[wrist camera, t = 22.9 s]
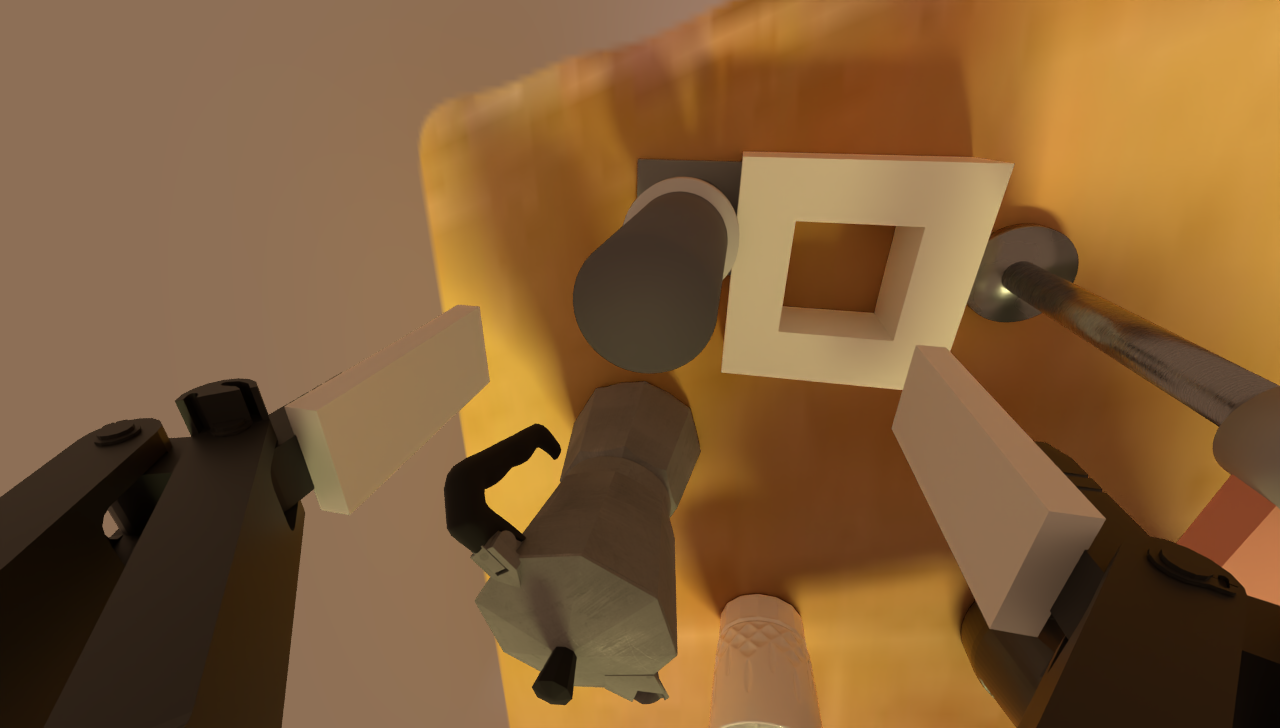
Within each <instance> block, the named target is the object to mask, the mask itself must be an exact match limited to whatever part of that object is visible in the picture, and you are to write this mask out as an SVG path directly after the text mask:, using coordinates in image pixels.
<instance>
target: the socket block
mask: <svg viewBox="0 0 1280 728" xmlns="http://www.w3.org/2000/svg"><path fill="white" fill-rule="evenodd" d="M1013 167H1014V163H1008V162H1002V161H995V160H989V159H983V158H977V157H956V156H915V155H874V154H833V153H792V152H751V151H743V157H742V167H741V177H740V187H739V197H738V207H737V220H738V224H739V247H738V253H737V256H736V260H735V262H734V264H733V266H732V268H731V275H730V285H729V295H728V304H727V314H726V324H725V334H724V344H723V356H722V369H721V372H722V373H733V374H743V375H753V376H763V377H774V378H784V379H794V380H804V381H815V382H825V383H835V384H845V385H855V386H866V387H876V388H886V389H896V390H903V387H904V384H905V380H906V377H907V373H908V370H909V366H910V363H911V360H912V356H913V353H914V349H915V346H916V345H925V346H936V347H946V348H947V349H948V350H949V351H950V350H951V348H952V345H953V342H954V339H955V336H956V333H957V330H958V327H959V324H960V321H961V318H962V316H963V313H964V310H965V307H966V304H967V301H968V298H969V295H970V292H971V289H972V286H973V284H974V281H975V278H976V275H977V272H978V269H979V266H980V263H981V260H982V257H983V254H984V252H985V249H986V246H987V243H988V240H989V237H990V234H991V231H992V228H993V225H994V222H995V220H996V217H997V214H998V211H999V208H1000V205H1001V202H1002V199H1003V196H1004V193H1005V190H1006V188H1007V185H1008V182H1009V179H1010V176H1011V173H1012V170H1013ZM796 221H803V222H825V223H846V224H867V225H889V226H896V228H895V232H894V236H893V240H892V244H891V248H890V252H889V256H888V260H887V264H886V268H885V272H884V276H883V279H882V283H881V287H880V291H879V295H878V299H877V303H876V307H875V311H874V313H869V312H855V311H842V310H828V309H815V308H801V307H788V306H782V305H783V299H784V293H785V286H786V280H787V274H788V267H789V261H790V255H791V248H792V242H793V236H794V229H795V223H796Z"/></svg>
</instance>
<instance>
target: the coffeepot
mask: <svg viewBox="0 0 1280 728" xmlns="http://www.w3.org/2000/svg"><path fill="white" fill-rule="evenodd" d="M538 447H539V448H541V449H543V450H544V451H545V452H547V453H548V454H549V455H550V456H551V457H552V458H553V459H554V460H555V459H557V458H558V456H559V455H560V453H561V448H560V445H559V443H558V442H557V441H556V439H555V438H554V436H553V435H552V434H551V433H550V431H549V430H548V429H547V428H546V427H544V426H543V425H540V424H534V425H532V426H530V427H528V428H526V429H524V430H522V431H520V432H518V433H516V434H515V435H513V436H510V437H508V438H507V439H505V440H502V441H500V442H499V443H497V444H495V445H493V446H491V447H489V448H487V449H485V450H483V451H481V452H479V453H477V454H475V455H472V456H470V457H468V458H466V459H464V460H463V461H461V462H459V463H458V464H456V465H455V466H453V468H452V469H451V471H450V472H449V473H448V475H447V478H446V482H445V487H444V497H445V508H446V522H447V529H448V531H449V532H450V534H451V536H453V537H454V538H455V539H456V540H457V541H459V542H460V543H461V544H463V545H464V546H465V547H467V548H468V549H469V550H471V552H472V553H473V554H472V556H471V559H472V560H473V561H474V562H475V563H476V564H478V565H479V566H480V567H481V568H482V569H483V570H484V571H485V572H486V573H487V574H488V575H489V576H490V578H489V580H488V581H487V583H486V584H485V586H484V587H483V589H482V590H481V592H480V593H479V595H478V596H477V598H476V600H475V603H476V604H477V606H478V608H479V609H480V611H481V613H482V615H483V617H484V618H485V620H486V622H487V623H488V625H489V627H490V629H491V631H492V632H493V634H494V636H495V638H496V639H497V641H498V643H499V644H500V646H501V648H502V650H503V651H504V652H505V653H507V654H509V655H511V656H513V657H514V658H516V659H518V660H520V661H522V662H524V663H526V664H528V665H529V666H531V667H533V668H535V669H537V670H539V671H541V672H540V674H539V676H538V677H537V679H536V681H535V683H534V684H533V686H532V688H533V690H534V692H535V694H536V695H537V697H538V698H540V699H542V700H544V701H546V702H548V703H550V704H557V705H566V704H567V703H568V702H569V701H570V700H571V699H572V695H573V687H574V686H582V687H605V689H607V690H609V691H611V692H613V693H615V694H617V695H619V696H621V697H623V698H625V699H627V700H629V701H631V702H633V699H635V700H636V701H638V702H640V703H641V704H651V703H654V702H656V701H658V700H659V699H660V698H664V700H666V699H668V698H669V696H668V694H667V692H666V690H665V689H664V687H663V685H662V683H661V681H660V679H659V675H658V671H659V670H660V669H661V668H663V667H664V666H665V665H666V664H667V663H669V662H670V661H671V660H672V659H673V658H675V657H676V656H677V617H676V576H675V538H674V534H673V530H672V526H671V522H670V517H671V516H672V514H673V513H674V511H675V510H676V509H677V507H678V504H679V502H680V500H681V497H682V495H683V492H684V490H685V488H686V485H687V483H688V481H689V478H690V476H691V473H692V471H693V469H694V466H695V464H696V461H697V459H698V457H699V454H700V452H701V450H700V446H699V442H698V437H697V431H696V427H695V424H694V421H693V418H692V414H691V410H690V408H689V407H687V406H686V405H685V404H683V403H682V402H681V401H679V400H678V399H676V398H675V397H674V396H672V395H671V394H670V393H668V392H666V391H664V390H662V389H660V388H658V387H655V386H652V385H651V384H649V383H647V382H646V381H642V382H626V383H618V384H614V385H610V386H608V387H602V388H596V389H595V391H594V393H593V394H592V396H591V397H590V399H589V400H588V402H587V404H586V405H585V407H584V408H583V410H582V411H581V413H580V415H579V416H578V418H577V419H576V421H575V423H574V426H573V430H572V434H571V438H570V442H569V446H568V450H567V454H566V458H565V462H564V466H563V470H562V474H561V478H560V482H561V483H560V484H559V486H558V487H557V488H556V490H555V491H554V492H553V494H552V495H551V496H550V498H549V499H548V500H547V502H546V503H545V504H544V506H543V507H542V508H541V510H540V511H539V512H538V514H537V515H536V516H535V518H534V519H533V520H532V522H531V523H530V524H529V526H528V527H527V528H526V530H525V531H524V532H523V534H522V533H520V532H519V531H518V530H517V529H516V528H515V527H513V526H512V525H511V524H510V523H509V522H507V521H506V520H504V519H503V518H502V517H500V516H499V515H498V514H496V513H495V512H494V511H493V510H492V509H490V508H489V507H488V505H487V504H486V501H485V495H484V492H485V489H487V488H489V487H491V486H493V485H495V484H496V483H497V482H499V481H500V480H501V479H502V478H503V477H504V476H505V475H506V474H507V472H508V471H509V470H510V469H511V468H512V467H514V466H518V465H520V464H522V463H524V462H526V461H528V459H529V458H530V457H531V456H532V454H533V453H534V451H535V449H536V448H538Z"/></svg>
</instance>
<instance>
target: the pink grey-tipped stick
mask: <svg viewBox="0 0 1280 728" xmlns="http://www.w3.org/2000/svg"><path fill="white" fill-rule="evenodd" d="M1213 454H1214V457H1215V459H1216V461H1217V462H1218V464H1219V465H1220V466H1221V467H1222V468H1223V469H1224V470H1226V471H1227V472H1228V473H1230V474H1231V476H1230V477H1229V478H1228V480H1227V481H1226V482H1225V483H1224V485H1223V486H1222V487H1221V488H1220V490H1219V491H1218V492H1217V493H1216V494H1215V496H1214V497H1213V498H1212V499H1211V501H1210V502H1209V503H1208V504H1207V506H1206V507H1205V508H1204V509H1203V511H1202V512H1201V513H1200V514H1199V516H1198V517H1197V518H1196V519H1195V520H1194V522H1193V523H1192V524H1191V525H1190V527H1189V528H1188V529H1187V530H1186V532H1185V533H1184V534H1183V535H1182V537H1181V538H1180V539H1179V540H1178V542H1177V543H1176V544H1179V545H1181V546H1184V547H1187V548H1189V549H1191V550H1193V551H1195V552H1197V553H1199V554H1201V555H1203V556H1205V557H1207V558H1209V559H1211V560H1212V561H1214V562H1215V563H1216V564H1218V565H1219V566H1221V567H1222V568H1224V569H1225V570H1226V571H1228V572H1229V573H1231V574H1232V575H1233V576H1234V577H1235V578H1236V579H1237V581H1238V582H1239V583H1240V584H1241V585H1242V586H1243V587H1244V588H1245V591H1246V594H1247V595H1248V596H1251V597H1255V598H1258V599H1261V600H1264V601H1267V602H1270V603H1273V604H1276V605H1279V606H1280V386H1277V387H1275V388H1272V389H1269V390H1267V391H1265V392H1263V393H1260V394H1258V395H1257V396H1255V397H1253V398H1251V399H1249V400H1248V401H1246V402H1245V403H1243V404H1242V405H1240V406H1239V407H1238V408H1237V409H1235V410H1234V411H1233V412H1232V413H1231V414H1230V415H1229V416H1228V417H1227V418H1226V419H1225V420H1224V421H1223V422H1222V424H1221V425H1220V427H1219V428H1218V430H1217V432H1216V434H1215V437H1214V441H1213Z"/></svg>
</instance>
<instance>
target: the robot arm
mask: <svg viewBox="0 0 1280 728" xmlns="http://www.w3.org/2000/svg"><path fill="white" fill-rule="evenodd" d="M489 382H490V380H489V373H488V365H487V358H486V351H485V343H484V336H483V329H482V321H481V314H480V307H478V306H466V305H457V306H455V307H453V308H452V309H450V310H448V311H446V312H445V313H443V314H441V315H440V316H438V317H436V318H435V319H433V320H431V321H429V322H428V323H426V324H424V325H423V326H421V327H419V328H417V329H416V330H414V331H412V332H411V333H409V334H407V335H406V336H404V337H402V338H400V339H399V340H397V341H395V342H394V343H392V344H390V345H389V346H387V347H385V348H383V349H382V350H380V351H378V352H376V353H375V354H373V355H371V356H370V357H368V358H366V359H364V360H363V361H361V362H359V363H358V364H356V365H354V366H353V367H351V368H349V369H347V370H346V371H344V372H342V373H340V374H338V375H336V376H335V377H333V378H331V379H329V380H328V381H326V382H325V383H324V384H321V385H319V386H317V387H316V388H314V389H312V391H310V392H307V393H306V394H304V395H302V396H300V397H299V398H297V399H295V400H293V401H292V402H290V403H289V404H287V405H285V406H283V407H281V408H280V409H278V410H276V411H275V412H273V413H271V414H269V415H268V412H267V410H266V407H265V404H264V402H263V399H262V397H261V394H260V391H259V388H258V386H257V383H256V382H255V381H253V380H250V379H229V380H222V381H218V382H213V383H209V384H206V385H203V386H200V387H197V388H195V389H192V390H190V391H188V392H186V393H184V394H182V395H181V396H180V397H179V398H178V399H177V400H175V402H176V404H177V407H178V409H179V411H180V413H181V415H182V417H183V419H184V421H185V424H186V425H187V428H188V430H189V432H190V434H191V437H184V438H168V436H167V434H166V432H165V430H164V428H163V426H162V424H161V422H160V421H159V420H156V419H153V418H143V419H134V420H123V421H118V422H116V423H111V424H108V425H105V426H103V427H102V428H101V429H98V430H96V431H93V432H91V433H89V434H88V435H86V436H84V437H82V438H81V439H79V440H77V441H76V442H75V443H73V444H72V445H71V446H69V447H68V448H67V449H65V450H64V451H62V453H60V454H58V455H57V456H56V457H54V458H53V459H52V460H50V461H49V462H48V463H46V464H45V465H43V466H42V467H41V468H40V469H38V470H37V471H35V472H34V473H33V474H31V475H30V476H29V477H27V478H26V479H24V480H23V481H22V482H20V483H19V484H18V485H16V486H15V487H14V488H12V489H11V490H10V491H8V492H7V493H5V494H4V495H3V496H1V497H0V728H281V727H282V717H283V708H284V700H285V689H286V681H287V672H288V663H289V654H290V645H291V636H292V626H293V618H294V609H295V599H296V591H297V581H298V571H299V563H300V554H301V545H302V536H303V526H304V518H305V511H304V508H303V505H302V503H301V499H302V498H303V497H305V496H306V495H307V494H308V493H310V492H311V491H312V490H313V489H314V491H315V494H316V497H317V500H318V503H319V506H320V508H321V510H325V511H330V512H336V513H341V514H348V515H351V514H352V513H353V512H354V511H355V510H356V509H357V508H358V507H359V506H360V505H361V504H362V503H363V502H364V501H365V500H367V499H368V498H369V497H370V496H371V495H372V494H373V493H374V492H375V491H376V490H377V489H378V488H379V487H380V486H381V485H382V484H383V483H384V482H385V481H386V480H387V479H389V477H391V476H392V475H393V474H394V473H395V472H396V471H397V470H398V469H399V468H400V467H401V466H402V465H403V464H404V463H405V462H406V461H407V460H408V459H409V458H410V457H411V456H413V455H414V454H415V453H416V452H417V451H418V450H419V449H420V448H421V447H422V446H423V445H424V444H425V443H426V442H427V441H428V440H429V439H430V438H431V437H432V436H434V435H435V434H436V433H437V432H438V431H439V430H440V429H441V428H442V427H443V426H444V425H445V424H446V423H447V422H448V421H449V420H450V419H451V418H452V417H453V416H454V415H455V414H457V413H458V412H459V411H460V410H461V409H462V408H463V407H464V406H465V405H466V404H467V403H468V402H469V401H470V400H471V399H472V398H473V397H474V396H475V395H476V394H477V393H479V392H480V391H481V390H482V389H483V388H484V387H485V386H486V385H487V384H488V383H489ZM891 429H892V431H893V433H894V435H895V437H896V439H897V441H898V443H899V445H900V447H901V449H902V451H903V453H904V455H905V457H906V459H907V461H908V463H909V465H910V467H911V469H912V471H913V473H914V475H915V478H916V480H917V482H918V484H919V486H920V488H921V490H922V492H923V494H924V496H925V498H926V500H927V502H928V504H929V506H930V508H931V510H932V512H933V514H934V516H935V518H936V520H937V522H938V524H939V527H940V529H941V531H942V533H943V535H944V537H945V539H946V541H947V543H948V545H949V547H950V549H951V551H952V553H953V555H954V557H955V559H956V561H957V563H958V565H959V567H960V569H961V571H962V573H963V576H964V578H965V580H966V582H967V584H968V586H969V588H970V590H971V592H972V594H973V596H974V598H975V600H976V601H975V602H974V603H973V604H972V606H971V607H970V609H969V610H968V612H967V613H966V615H965V618H964V620H963V624H962V629H961V637H962V643H963V646H964V649H965V651H966V653H967V656H968V658H969V660H970V663H971V665H972V667H973V670H974V672H975V674H976V676H977V678H978V679H979V681H980V683H981V684H982V685H983V687H984V688H985V689H986V690H987V691H988V692H989V693H990V694H991V696H992V697H993V698H994V699H995V700H996V701H997V703H998V704H999V705H1000V707H1001V708H1002V709H1003V711H1004V712H1005V713H1006V715H1007V716H1008V717H1009V719H1010V720H1011V721H1012V722H1013V724H1014V725H1015V726H1016V728H1280V606H1279V605H1276V604H1273V603H1270V602H1267V601H1264V600H1261V599H1258V598H1255V597H1251V596H1248V595H1247V594H1246V591H1245V588H1244V587H1243V586H1242V585H1241V584H1240V583H1239V582H1238V581H1237V579H1236V578H1235V577H1234V576H1233V575H1232V574H1231V573H1229V572H1228V571H1226V570H1225V569H1224V568H1222V567H1221V566H1219V565H1218V564H1216V563H1215V562H1214V561H1212V560H1211V559H1209V558H1207V557H1205V556H1203V555H1201V554H1199V553H1197V552H1195V551H1193V550H1191V549H1189V548H1187V547H1184V546H1181V545H1179V544H1176V543H1173V542H1170V541H1168V540H1165V539H1160V538H1155V537H1150V536H1149V535H1148V534H1147V533H1146V532H1145V531H1144V530H1143V529H1142V528H1141V527H1140V526H1139V525H1138V524H1137V523H1136V522H1135V521H1134V520H1133V519H1132V518H1131V517H1130V516H1129V515H1128V514H1127V513H1126V512H1125V511H1124V510H1123V509H1122V508H1121V507H1120V506H1119V505H1118V504H1117V503H1116V502H1115V501H1114V500H1113V499H1112V498H1111V497H1110V496H1109V495H1108V494H1107V493H1103V492H1102V488H1101V487H1100V486H1099V485H1098V484H1097V483H1096V482H1095V481H1094V480H1093V479H1091V478H1088V474H1087V473H1086V472H1085V471H1084V470H1083V469H1082V468H1081V467H1080V466H1079V465H1078V464H1077V463H1076V462H1075V461H1074V460H1073V459H1072V458H1070V457H1068V456H1067V455H1065V454H1064V453H1062V452H1060V451H1059V450H1057V449H1055V448H1054V447H1052V446H1051V445H1049V444H1047V443H1044V442H1035V441H1033V440H1032V439H1031V438H1030V437H1029V436H1028V435H1027V434H1026V433H1025V432H1024V430H1023V429H1022V428H1021V427H1020V426H1019V425H1018V424H1017V423H1016V422H1015V421H1014V420H1013V419H1012V418H1011V417H1010V415H1009V414H1008V413H1007V412H1006V411H1005V410H1004V409H1003V408H1002V407H1001V406H1000V405H999V404H998V403H997V402H996V400H995V399H994V398H993V397H992V396H991V395H990V394H989V393H988V392H987V391H986V390H985V389H984V388H983V387H982V385H981V384H980V383H979V382H978V381H977V380H976V379H975V378H974V377H973V376H972V375H971V374H970V373H969V372H968V370H967V369H966V368H965V367H964V366H963V365H962V364H961V363H960V362H959V361H958V360H957V359H956V358H955V357H954V355H953V354H952V353H951V352H950V351H949V350H948V349H947V348H946V347H936V346H925V345H916V346H915V349H914V353H913V356H912V360H911V363H910V366H909V370H908V373H907V377H906V380H905V384H904V387H903V390H902V394H901V397H900V401H899V404H898V408H897V411H896V415H895V418H894V421H893V425H892V428H891ZM107 510H108V511H109V513H110V515H111V516H112V518H113V519H114V521H115V523H116V524H117V526H118V528H119V529H118V530H117V531H116V532H115V533H114V534H113V535H112V536H111V537H110V538H108V537H107V536H106V535H105V534H104V531H103V527H102V524H103V518H104V515H105V513H106V511H107Z"/></svg>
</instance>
